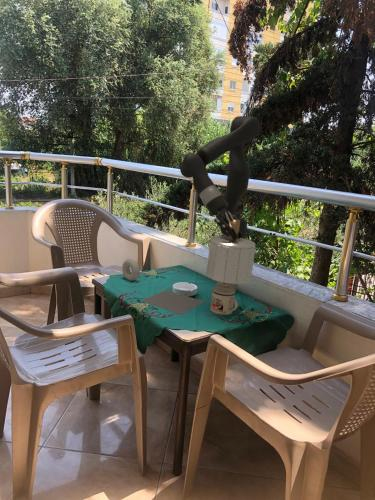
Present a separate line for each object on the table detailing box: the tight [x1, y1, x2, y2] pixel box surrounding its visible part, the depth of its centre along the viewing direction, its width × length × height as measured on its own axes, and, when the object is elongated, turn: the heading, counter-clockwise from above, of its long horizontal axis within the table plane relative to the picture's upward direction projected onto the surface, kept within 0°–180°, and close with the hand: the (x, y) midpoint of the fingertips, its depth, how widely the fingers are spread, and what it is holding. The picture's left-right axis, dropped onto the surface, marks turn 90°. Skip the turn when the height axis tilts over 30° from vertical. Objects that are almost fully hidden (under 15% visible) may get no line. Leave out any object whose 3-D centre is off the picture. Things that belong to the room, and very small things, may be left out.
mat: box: [140, 289, 205, 315], centre depth 164 cm, size 18×19×1 cm
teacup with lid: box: [210, 283, 239, 316], centre depth 158 cm, size 12×9×12 cm
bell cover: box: [206, 219, 256, 285], centre depth 153 cm, size 17×17×22 cm
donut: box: [121, 258, 140, 282], centre depth 184 cm, size 10×4×10 cm, turn 48°
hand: (238, 238), depth 151 cm, fingers closed on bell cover, 3 cm apart
